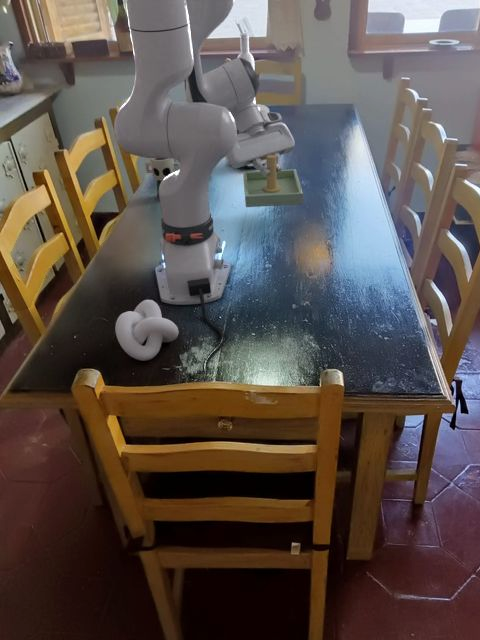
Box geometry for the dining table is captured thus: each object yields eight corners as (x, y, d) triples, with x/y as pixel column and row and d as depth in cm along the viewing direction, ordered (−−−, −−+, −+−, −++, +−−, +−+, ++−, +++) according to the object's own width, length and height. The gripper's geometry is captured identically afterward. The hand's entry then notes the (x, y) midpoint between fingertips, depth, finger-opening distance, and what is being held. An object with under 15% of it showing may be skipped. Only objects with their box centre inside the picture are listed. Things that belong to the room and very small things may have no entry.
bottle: (249, 105, 247) (246, 31, 228) (259, 108, 242) (257, 33, 223) (235, 108, 243) (231, 33, 224) (245, 111, 238) (242, 36, 219)
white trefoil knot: (185, 330, 111) (180, 294, 106) (175, 367, 102) (168, 330, 97) (133, 329, 112) (125, 294, 107) (118, 366, 103) (108, 329, 97)
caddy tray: (302, 204, 137) (303, 166, 131) (245, 207, 137) (243, 169, 131) (295, 179, 150) (296, 144, 144) (243, 182, 150) (241, 146, 144)
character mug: (148, 202, 163) (140, 160, 155) (153, 193, 169) (146, 152, 161) (182, 202, 163) (177, 160, 155) (186, 192, 168) (181, 152, 160)
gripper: (221, 128, 132) (246, 177, 132) (284, 112, 141) (307, 158, 141) (213, 141, 138) (237, 189, 138) (274, 125, 147) (296, 169, 147)
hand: (273, 173), depth 140 cm, fingers closed on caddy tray, 2 cm apart
